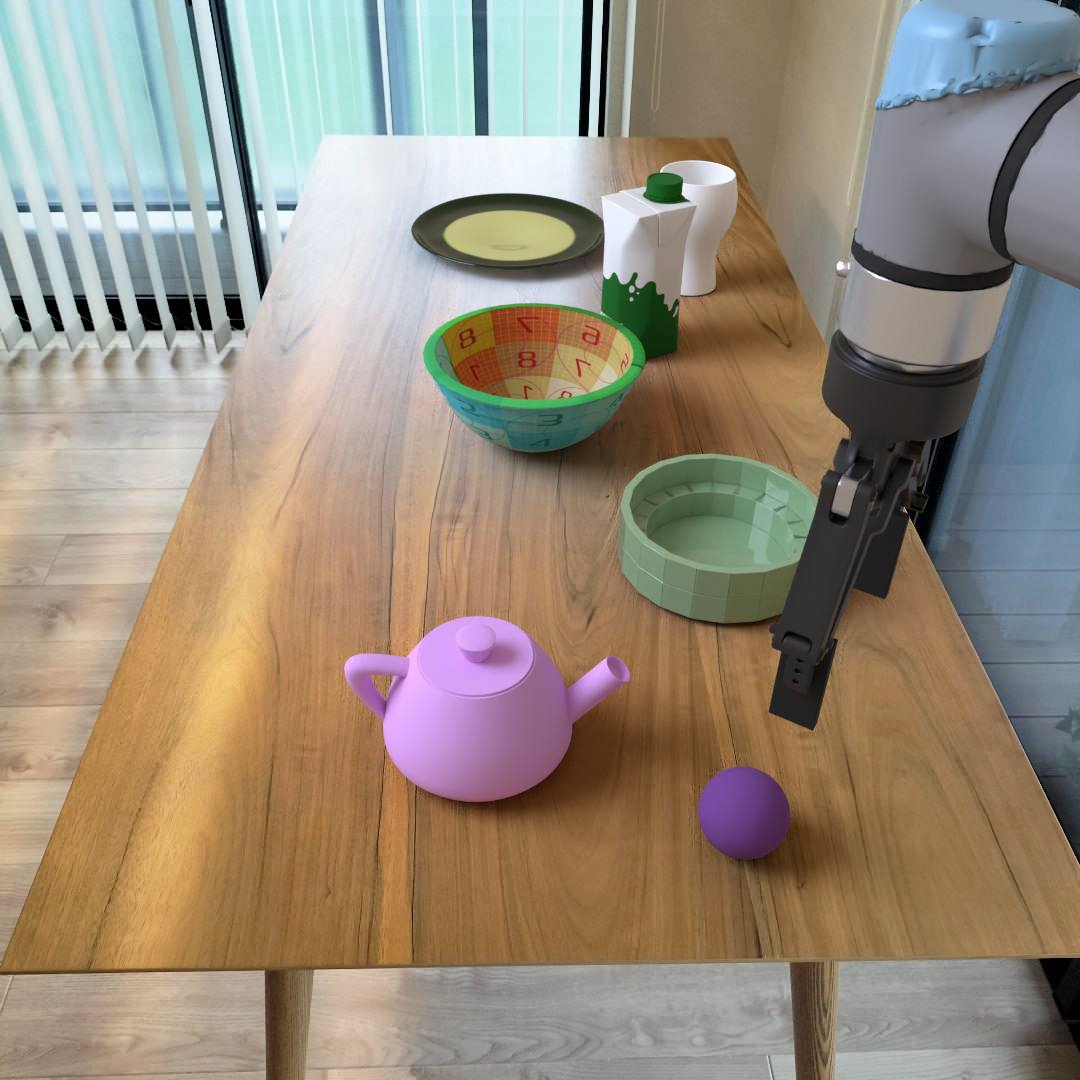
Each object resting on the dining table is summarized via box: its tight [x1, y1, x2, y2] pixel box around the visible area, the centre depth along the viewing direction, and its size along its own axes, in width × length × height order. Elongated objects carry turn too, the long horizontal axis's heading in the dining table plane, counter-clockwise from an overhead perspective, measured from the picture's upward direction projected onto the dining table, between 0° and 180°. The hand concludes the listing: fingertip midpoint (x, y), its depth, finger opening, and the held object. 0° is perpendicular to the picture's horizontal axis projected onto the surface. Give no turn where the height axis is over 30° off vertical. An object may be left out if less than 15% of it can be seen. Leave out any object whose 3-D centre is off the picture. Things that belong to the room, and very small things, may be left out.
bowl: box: [422, 302, 646, 454], centre depth 111 cm, size 22×22×10 cm
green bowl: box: [616, 453, 819, 624], centre depth 96 cm, size 18×18×6 cm
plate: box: [410, 192, 605, 271], centre depth 155 cm, size 28×28×2 cm
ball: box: [697, 766, 791, 861], centre depth 72 cm, size 6×6×6 cm
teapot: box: [343, 615, 631, 803], centre depth 77 cm, size 14×20×11 cm
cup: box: [659, 160, 739, 297], centre depth 141 cm, size 11×11×15 cm
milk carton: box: [599, 172, 697, 360], centre depth 125 cm, size 9×9×20 cm
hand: (832, 649), depth 67 cm, fingers open, 13 cm apart
